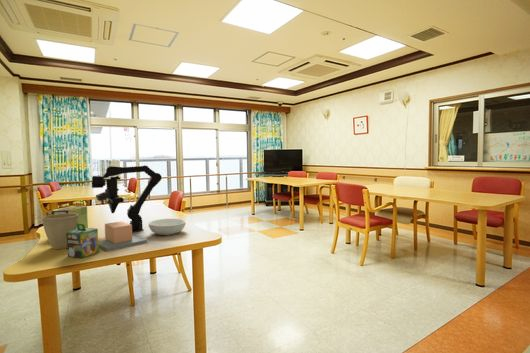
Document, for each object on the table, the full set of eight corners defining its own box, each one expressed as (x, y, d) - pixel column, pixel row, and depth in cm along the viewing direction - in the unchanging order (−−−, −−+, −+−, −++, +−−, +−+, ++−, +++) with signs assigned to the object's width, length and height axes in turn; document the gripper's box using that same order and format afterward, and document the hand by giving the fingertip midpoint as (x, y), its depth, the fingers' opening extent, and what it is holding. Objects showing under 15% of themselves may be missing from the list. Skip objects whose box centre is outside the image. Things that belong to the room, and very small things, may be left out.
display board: (134, 236, 162) (134, 234, 162) (147, 242, 152) (147, 239, 152) (95, 244, 148) (95, 241, 148) (106, 251, 137) (106, 248, 137)
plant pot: (86, 243, 149) (85, 213, 148) (60, 252, 135) (59, 219, 134) (62, 241, 152) (61, 212, 151) (35, 250, 138) (33, 218, 137)
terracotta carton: (122, 221, 160) (131, 224, 151) (122, 235, 160) (132, 239, 151) (104, 223, 153) (113, 227, 144) (105, 238, 154) (114, 243, 145)
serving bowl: (171, 239, 158) (171, 227, 157) (140, 236, 164) (140, 224, 164) (192, 230, 177) (192, 219, 177) (164, 228, 184) (164, 217, 184)
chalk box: (99, 252, 135) (98, 221, 134) (81, 258, 127) (80, 226, 126) (85, 250, 138) (84, 220, 137) (66, 256, 130) (65, 224, 129)
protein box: (88, 231, 176) (87, 206, 175) (69, 237, 160) (68, 210, 160) (72, 230, 177) (71, 205, 176) (52, 237, 161) (50, 210, 160)
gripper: (91, 187, 170) (92, 213, 171) (102, 189, 157) (103, 217, 158) (111, 185, 178) (112, 210, 179) (123, 188, 165) (124, 214, 166)
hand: (112, 213), depth 170 cm, fingers closed
